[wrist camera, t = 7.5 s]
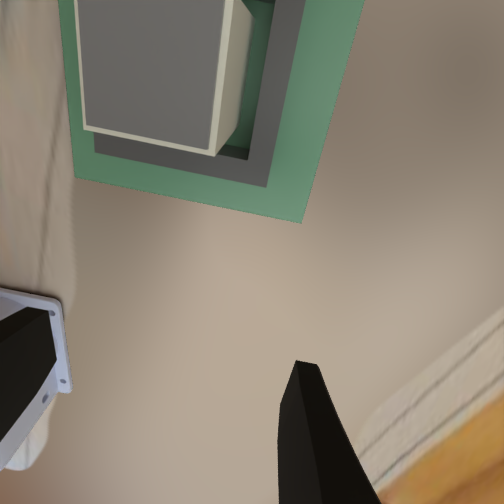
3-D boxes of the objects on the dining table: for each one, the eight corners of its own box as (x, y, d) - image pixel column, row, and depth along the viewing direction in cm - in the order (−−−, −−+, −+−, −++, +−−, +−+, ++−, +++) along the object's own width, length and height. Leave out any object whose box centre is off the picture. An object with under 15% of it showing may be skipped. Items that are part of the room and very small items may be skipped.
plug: (239, 124, 15) (213, 157, 10) (153, 106, 15) (79, 130, 10) (256, 10, 13) (235, -26, 8) (156, -11, 13) (64, -63, 8)
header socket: (300, 218, 18) (303, 243, 15) (81, 173, 18) (48, 191, 15) (385, -84, 12) (410, -121, 9) (53, -155, 12) (-8, -212, 9)
